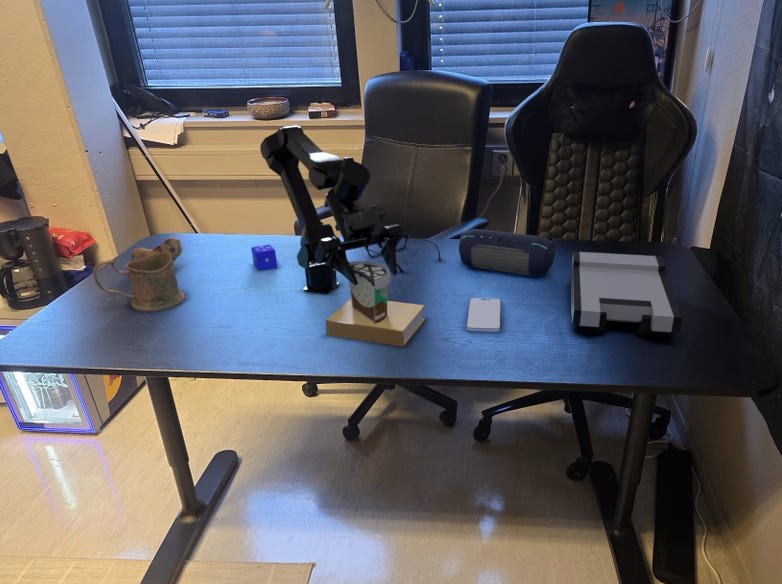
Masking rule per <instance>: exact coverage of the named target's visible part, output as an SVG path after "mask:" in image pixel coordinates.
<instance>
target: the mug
mask: <svg viewBox="0 0 782 584" xmlns="http://www.w3.org/2000/svg"><path fill="white" fill-rule="evenodd" d="M108 264H111V266H112V268H113V269H114V271H115V272H117V273H119V274H121V275H126V274H127V276H128V280H129V282H130V283H129V284H130V286H131V290H132V294H127V293H125V292H122V291H120V290H115V289H106V288H104V287H103V286H102V285H101V283H100V281H99V278H98V274H97V271H98V269H99V268H101V267H102V266H105V265H108ZM125 268H126V270H123V271H122V270H119V269H118V268H117V266H116V263H115V261H114V259H108V260H104V261H100V262H99V263H97V264H96V265H94V266H93V268H92V274H93V278H94V281H95V283H96V284H97V286H98V287H99V289H101V290H103V292H106V293H111V294H119V295H122V296H125V297H127V298H132V300H131V302H130V305H131V307H132V308H133V309H134V310H136V311H141V312H157V311H163V310H168V309H170V308H174V307H177V306H178V305H180V304H181V303H183V302H184V301H185V299H186V296H185V293H184V292H182V291H181V290H180V288H179V284H178V280H177V276H176V272H175V265H174V262H172V257H171V254H170V253H169V252H167V251H166V252H161V253H157V254H153V255H151V256H148V257H146V258H143V259H140V260H137V261H136V260H133V262H131V261H130V262H127V263H126V264H125Z"/></svg>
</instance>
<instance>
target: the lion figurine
mask: <svg viewBox="0 0 782 584" xmlns="http://www.w3.org/2000/svg"><path fill="white" fill-rule="evenodd" d="M166 251H167V252H169V253H170V254H171V257H172V262H173V263H174V262H176V260H177V258H179V257H180V256H181V254H182V252H183V247H182V244H181V241H180V239H178V238H176V237H175V236H174V237H169V238H168V237H167V239H165V240H164V241H163V242H162V243H160V244H157V246H156V247H155V248H153V249H151V248H144V247H137V248H135V249H133V250H132V251H131V253H130V262H134V261H137V260H140V259H143V258H146V257H148V256H151V255H153V254H157V253H161V252H166Z"/></svg>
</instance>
